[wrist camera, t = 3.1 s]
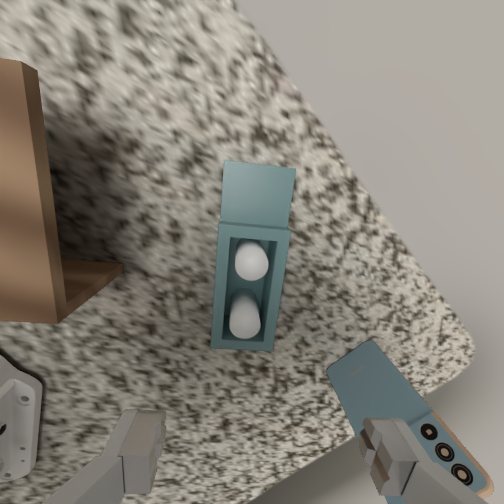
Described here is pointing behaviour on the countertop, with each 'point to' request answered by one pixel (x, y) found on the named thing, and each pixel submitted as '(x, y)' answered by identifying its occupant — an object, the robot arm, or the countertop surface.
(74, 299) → the nook
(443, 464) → the smartphone
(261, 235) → the tray
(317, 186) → the countertop surface
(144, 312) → the countertop surface
